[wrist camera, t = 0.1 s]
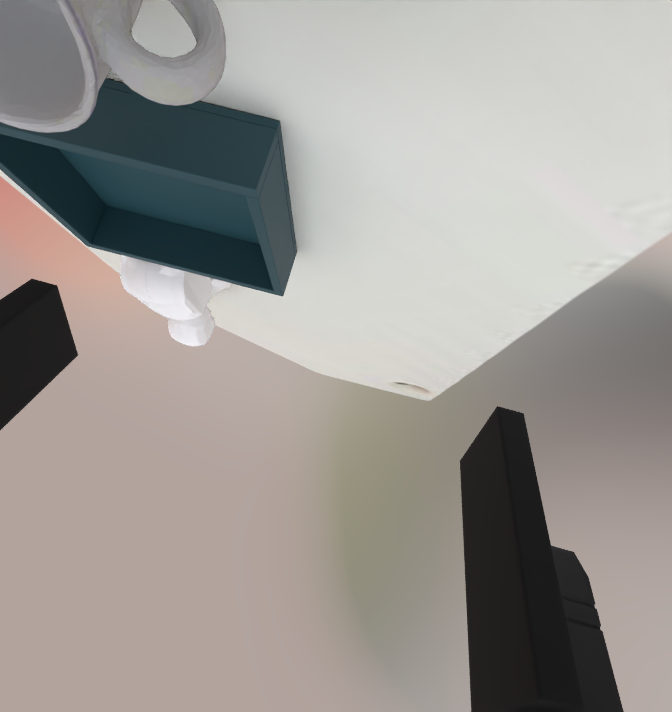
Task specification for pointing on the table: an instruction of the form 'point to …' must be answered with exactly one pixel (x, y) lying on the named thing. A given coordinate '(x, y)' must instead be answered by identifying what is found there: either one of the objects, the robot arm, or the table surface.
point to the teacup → (96, 59)
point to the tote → (166, 185)
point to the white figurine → (174, 297)
